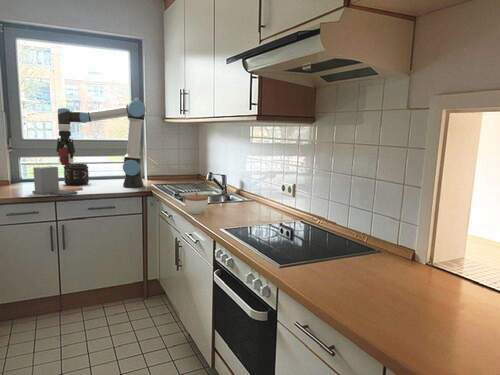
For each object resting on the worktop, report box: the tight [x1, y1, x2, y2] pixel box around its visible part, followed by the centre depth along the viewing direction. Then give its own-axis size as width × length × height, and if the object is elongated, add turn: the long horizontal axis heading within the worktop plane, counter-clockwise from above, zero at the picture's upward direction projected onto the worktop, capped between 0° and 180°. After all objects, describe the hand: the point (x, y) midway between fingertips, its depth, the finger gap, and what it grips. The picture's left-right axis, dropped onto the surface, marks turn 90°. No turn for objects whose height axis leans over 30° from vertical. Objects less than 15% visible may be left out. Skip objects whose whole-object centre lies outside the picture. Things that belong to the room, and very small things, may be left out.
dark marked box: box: [63, 163, 90, 187], centre depth 289 cm, size 18×18×16 cm
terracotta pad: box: [59, 185, 84, 192], centre depth 263 cm, size 14×14×2 cm
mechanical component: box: [57, 146, 75, 166], centre depth 259 cm, size 12×10×10 cm
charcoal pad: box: [51, 190, 78, 197], centre depth 247 cm, size 11×11×2 cm
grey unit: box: [31, 165, 61, 196], centre depth 249 cm, size 14×12×18 cm
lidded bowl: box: [184, 192, 209, 215], centre depth 201 cm, size 13×13×11 cm
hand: (66, 162), depth 260 cm, fingers closed on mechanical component, 10 cm apart
